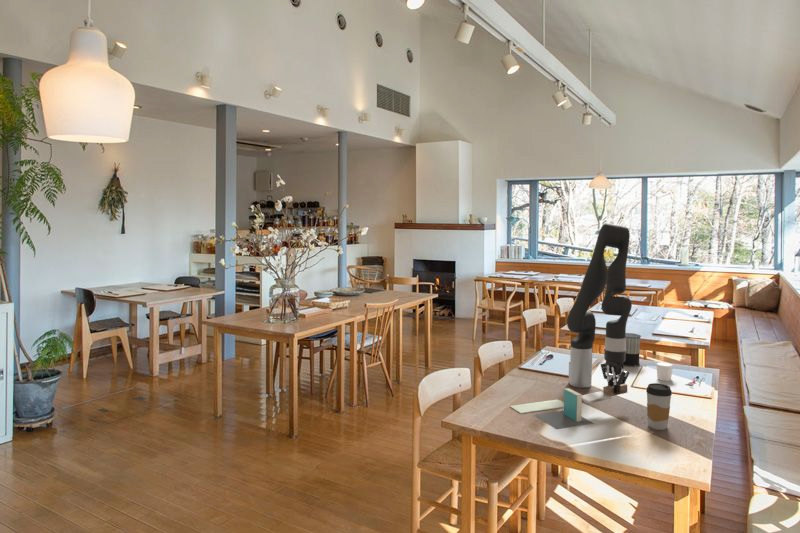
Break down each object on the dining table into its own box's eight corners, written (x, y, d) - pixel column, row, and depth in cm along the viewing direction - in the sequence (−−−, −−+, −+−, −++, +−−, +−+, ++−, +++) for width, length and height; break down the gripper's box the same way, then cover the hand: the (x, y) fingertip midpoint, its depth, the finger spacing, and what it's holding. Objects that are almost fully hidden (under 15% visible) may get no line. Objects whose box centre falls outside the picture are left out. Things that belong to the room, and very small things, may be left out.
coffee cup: (673, 426, 207) (675, 386, 205) (665, 433, 201) (667, 391, 199) (649, 420, 213) (651, 381, 211) (641, 427, 207) (642, 386, 205)
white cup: (675, 381, 259) (675, 366, 259) (659, 381, 259) (660, 366, 259) (668, 376, 266) (668, 361, 265) (653, 376, 266) (654, 361, 266)
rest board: (510, 408, 227) (510, 405, 227) (557, 401, 234) (557, 399, 234) (520, 415, 219) (520, 412, 219) (569, 408, 226) (569, 405, 226)
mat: (533, 416, 218) (533, 414, 218) (569, 410, 223) (569, 409, 223) (556, 430, 204) (556, 429, 204) (594, 424, 209) (594, 423, 209)
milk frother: (642, 363, 288) (643, 334, 286) (631, 370, 276) (632, 340, 274) (614, 358, 297) (615, 330, 295) (602, 365, 285) (603, 336, 284)
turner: (619, 389, 225) (619, 381, 224) (630, 393, 219) (630, 385, 219) (578, 398, 219) (578, 390, 218) (589, 403, 213) (588, 395, 213)
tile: (563, 414, 218) (563, 388, 217) (567, 413, 219) (568, 388, 218) (576, 421, 211) (576, 395, 210) (580, 420, 212) (581, 394, 210)
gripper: (636, 351, 213) (634, 397, 215) (610, 343, 226) (609, 386, 228) (619, 353, 210) (618, 399, 212) (594, 345, 224) (593, 388, 225)
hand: (613, 392), depth 220 cm, fingers closed on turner, 2 cm apart
